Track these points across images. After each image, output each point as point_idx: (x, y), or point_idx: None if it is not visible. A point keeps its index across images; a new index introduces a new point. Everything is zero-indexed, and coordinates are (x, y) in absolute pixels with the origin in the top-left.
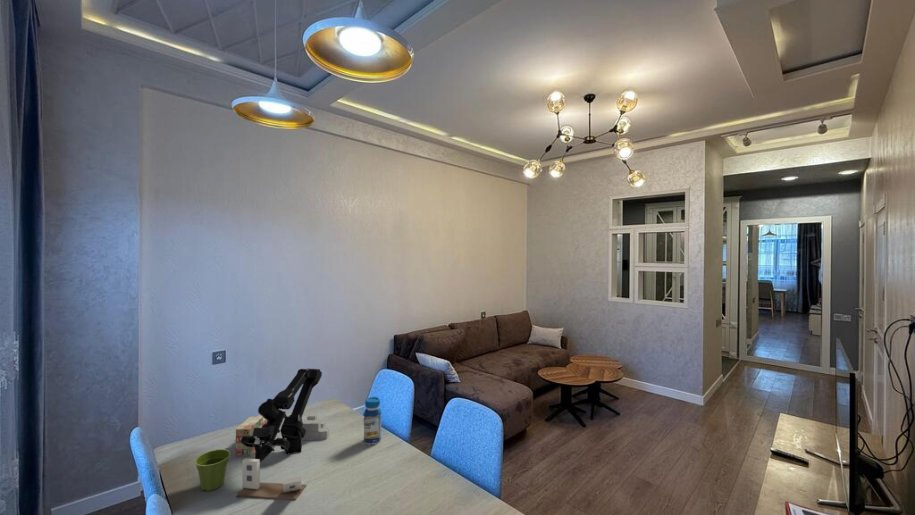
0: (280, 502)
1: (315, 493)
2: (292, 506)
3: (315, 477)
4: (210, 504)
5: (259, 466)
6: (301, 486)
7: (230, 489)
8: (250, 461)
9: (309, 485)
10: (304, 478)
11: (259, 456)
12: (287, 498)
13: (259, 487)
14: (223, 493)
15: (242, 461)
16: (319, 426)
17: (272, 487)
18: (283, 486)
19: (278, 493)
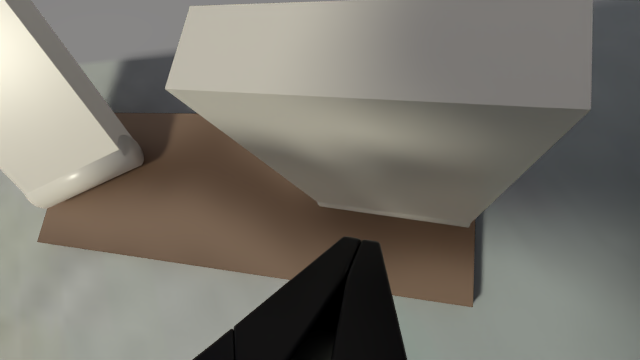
0: (155, 92)
1: (3, 175)
2: (94, 69)
3: (3, 346)
4: (635, 25)
5: (241, 141)
6: (59, 223)
7: (607, 217)
8: (334, 7)
9: (32, 252)
10: (63, 340)
11: (277, 328)
12: (120, 115)
13: (331, 215)
14: (634, 159)
15: (570, 11)
16: None
17: (234, 215)
18: (30, 3)
19: (175, 149)
